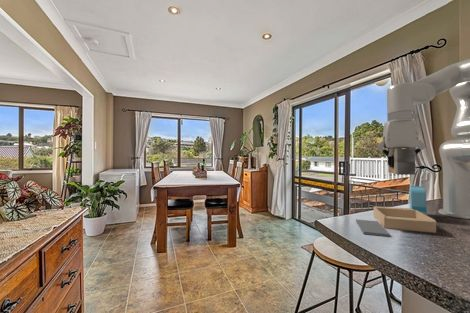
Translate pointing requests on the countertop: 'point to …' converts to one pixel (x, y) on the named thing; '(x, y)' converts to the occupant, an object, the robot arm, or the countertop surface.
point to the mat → (372, 228)
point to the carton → (404, 219)
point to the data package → (418, 199)
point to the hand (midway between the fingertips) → (400, 166)
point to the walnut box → (403, 162)
